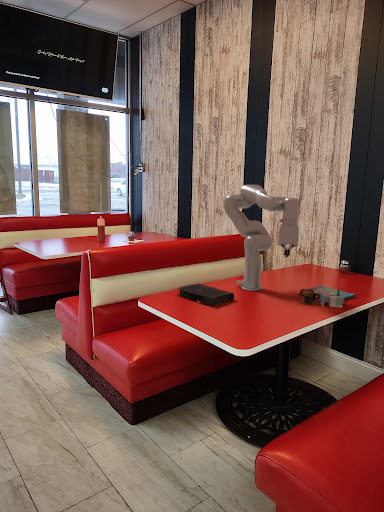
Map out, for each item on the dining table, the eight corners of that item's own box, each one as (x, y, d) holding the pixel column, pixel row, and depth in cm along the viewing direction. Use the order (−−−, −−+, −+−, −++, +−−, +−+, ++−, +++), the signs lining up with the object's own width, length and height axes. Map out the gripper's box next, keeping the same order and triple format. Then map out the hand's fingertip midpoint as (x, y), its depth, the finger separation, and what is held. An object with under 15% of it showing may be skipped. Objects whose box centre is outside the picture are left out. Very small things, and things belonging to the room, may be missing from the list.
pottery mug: (294, 303, 200) (295, 288, 203) (302, 308, 207) (302, 293, 210) (317, 302, 193) (317, 287, 196) (324, 307, 200) (324, 291, 202)
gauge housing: (329, 306, 196) (330, 297, 195) (327, 300, 205) (328, 291, 204) (342, 307, 194) (343, 298, 193) (339, 301, 204) (340, 292, 203)
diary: (199, 291, 219) (199, 282, 218) (233, 301, 202) (234, 292, 201) (175, 296, 206) (176, 287, 205) (210, 308, 189) (211, 298, 188)
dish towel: (340, 303, 204) (340, 298, 203) (302, 292, 222) (303, 288, 221) (356, 298, 215) (357, 293, 214) (320, 288, 232) (320, 284, 232)
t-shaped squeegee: (321, 306, 195) (322, 291, 193) (318, 298, 207) (319, 284, 206) (345, 308, 193) (347, 293, 191) (341, 300, 205) (342, 286, 204)
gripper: (274, 222, 196) (272, 257, 200) (305, 223, 193) (301, 259, 197) (275, 220, 203) (272, 254, 207) (304, 222, 200) (301, 256, 204)
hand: (286, 256), depth 202 cm, fingers closed
